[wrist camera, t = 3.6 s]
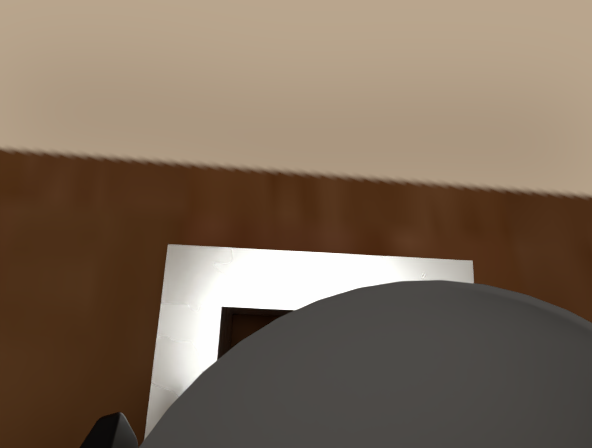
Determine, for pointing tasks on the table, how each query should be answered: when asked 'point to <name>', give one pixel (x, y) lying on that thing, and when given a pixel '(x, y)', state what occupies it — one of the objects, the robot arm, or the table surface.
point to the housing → (255, 300)
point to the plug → (397, 375)
